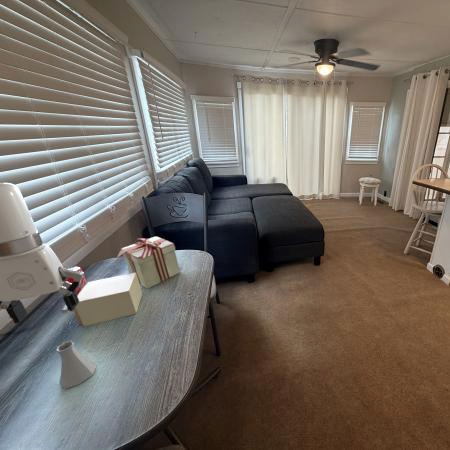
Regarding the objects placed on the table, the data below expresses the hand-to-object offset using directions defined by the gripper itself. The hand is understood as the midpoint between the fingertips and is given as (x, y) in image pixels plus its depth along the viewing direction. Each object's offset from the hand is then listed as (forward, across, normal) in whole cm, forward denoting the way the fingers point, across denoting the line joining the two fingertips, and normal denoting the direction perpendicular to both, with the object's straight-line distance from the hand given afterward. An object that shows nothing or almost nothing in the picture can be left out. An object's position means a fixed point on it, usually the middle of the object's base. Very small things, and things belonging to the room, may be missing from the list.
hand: (48, 312), depth 55 cm
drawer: (+19, -2, +27) cm, 33 cm away
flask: (+20, 0, 0) cm, 20 cm away
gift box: (+20, +12, +44) cm, 50 cm away
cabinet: (+20, +2, +27) cm, 34 cm away
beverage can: (+20, -12, +41) cm, 47 cm away
